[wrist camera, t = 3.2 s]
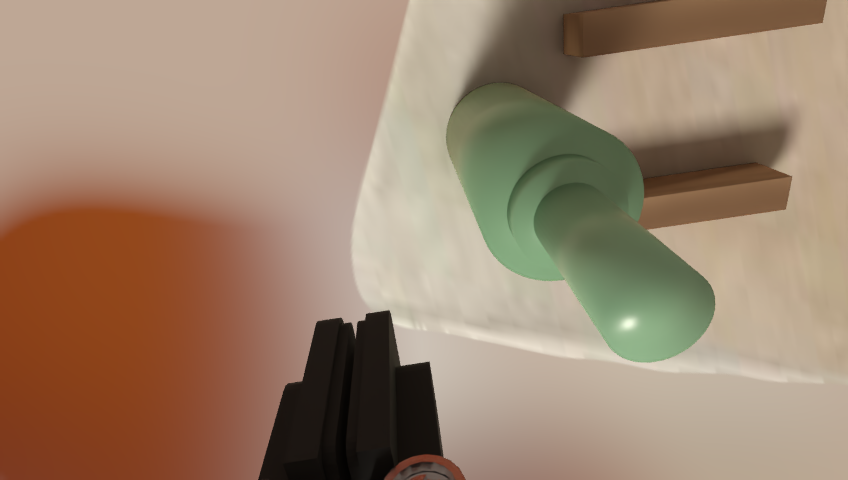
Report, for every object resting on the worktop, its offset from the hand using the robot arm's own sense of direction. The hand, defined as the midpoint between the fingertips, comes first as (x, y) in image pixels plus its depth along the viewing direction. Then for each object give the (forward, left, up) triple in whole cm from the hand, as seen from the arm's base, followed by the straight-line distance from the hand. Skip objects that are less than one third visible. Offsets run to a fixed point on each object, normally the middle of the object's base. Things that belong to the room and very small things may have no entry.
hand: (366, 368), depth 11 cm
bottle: (0, +7, -19) cm, 20 cm away
